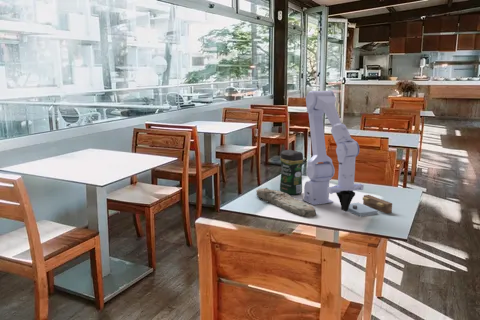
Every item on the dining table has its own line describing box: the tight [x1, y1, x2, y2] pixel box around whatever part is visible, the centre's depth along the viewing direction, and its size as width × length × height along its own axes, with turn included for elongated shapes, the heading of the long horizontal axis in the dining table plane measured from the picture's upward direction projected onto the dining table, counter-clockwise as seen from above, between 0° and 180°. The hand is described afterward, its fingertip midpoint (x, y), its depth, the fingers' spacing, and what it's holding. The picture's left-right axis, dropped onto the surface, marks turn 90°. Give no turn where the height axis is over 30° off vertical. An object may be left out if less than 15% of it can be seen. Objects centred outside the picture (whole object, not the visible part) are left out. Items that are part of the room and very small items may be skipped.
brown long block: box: [362, 194, 393, 214], centre depth 165 cm, size 4×13×4 cm, turn 23°
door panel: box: [347, 202, 379, 217], centre depth 162 cm, size 8×11×3 cm
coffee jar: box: [279, 149, 304, 196], centre depth 186 cm, size 10×8×19 cm
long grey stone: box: [255, 187, 317, 218], centre depth 170 cm, size 35×5×10 cm
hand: (344, 210), depth 160 cm, fingers closed
